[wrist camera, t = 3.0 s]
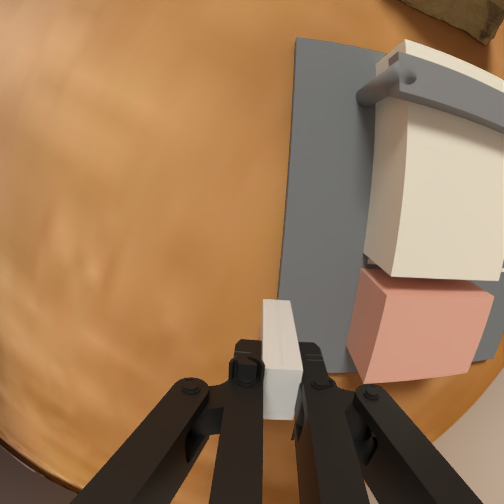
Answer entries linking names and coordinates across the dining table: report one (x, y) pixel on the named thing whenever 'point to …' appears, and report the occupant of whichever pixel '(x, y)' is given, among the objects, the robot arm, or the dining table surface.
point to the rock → (465, 15)
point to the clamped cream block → (436, 166)
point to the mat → (337, 201)
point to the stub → (415, 326)
